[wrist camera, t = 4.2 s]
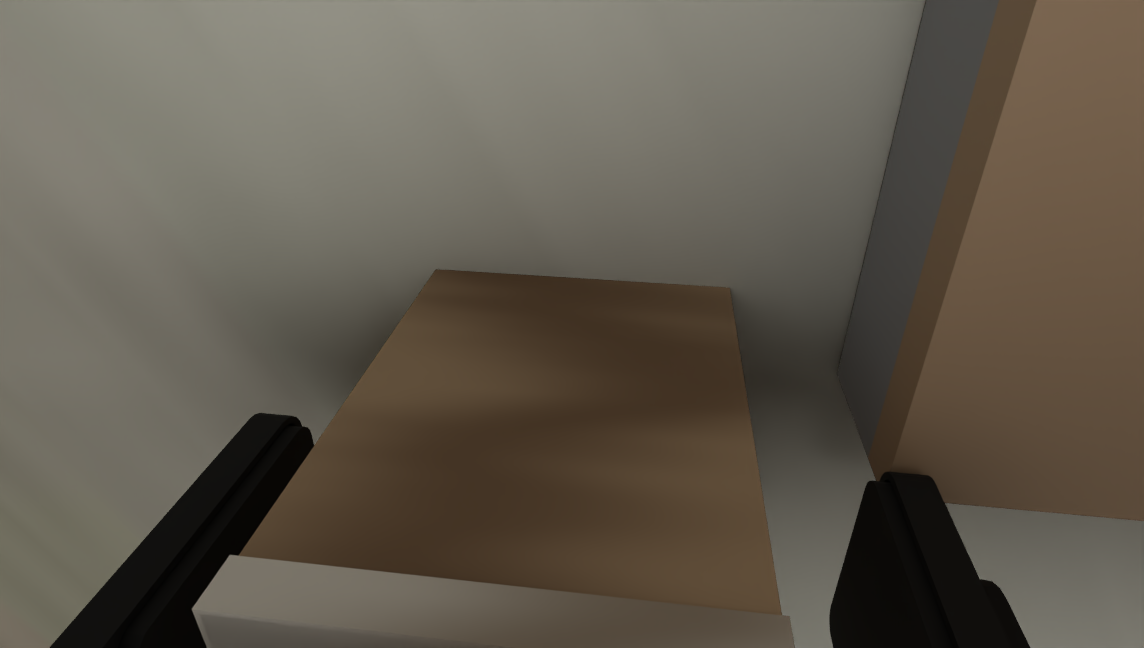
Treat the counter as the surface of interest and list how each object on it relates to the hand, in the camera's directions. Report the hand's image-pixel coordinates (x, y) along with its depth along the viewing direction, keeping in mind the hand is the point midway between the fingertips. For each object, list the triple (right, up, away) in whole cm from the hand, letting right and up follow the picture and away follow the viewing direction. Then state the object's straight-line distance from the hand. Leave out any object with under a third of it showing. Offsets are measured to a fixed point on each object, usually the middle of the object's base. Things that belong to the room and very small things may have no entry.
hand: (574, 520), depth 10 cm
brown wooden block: (0, +2, +3) cm, 3 cm away
